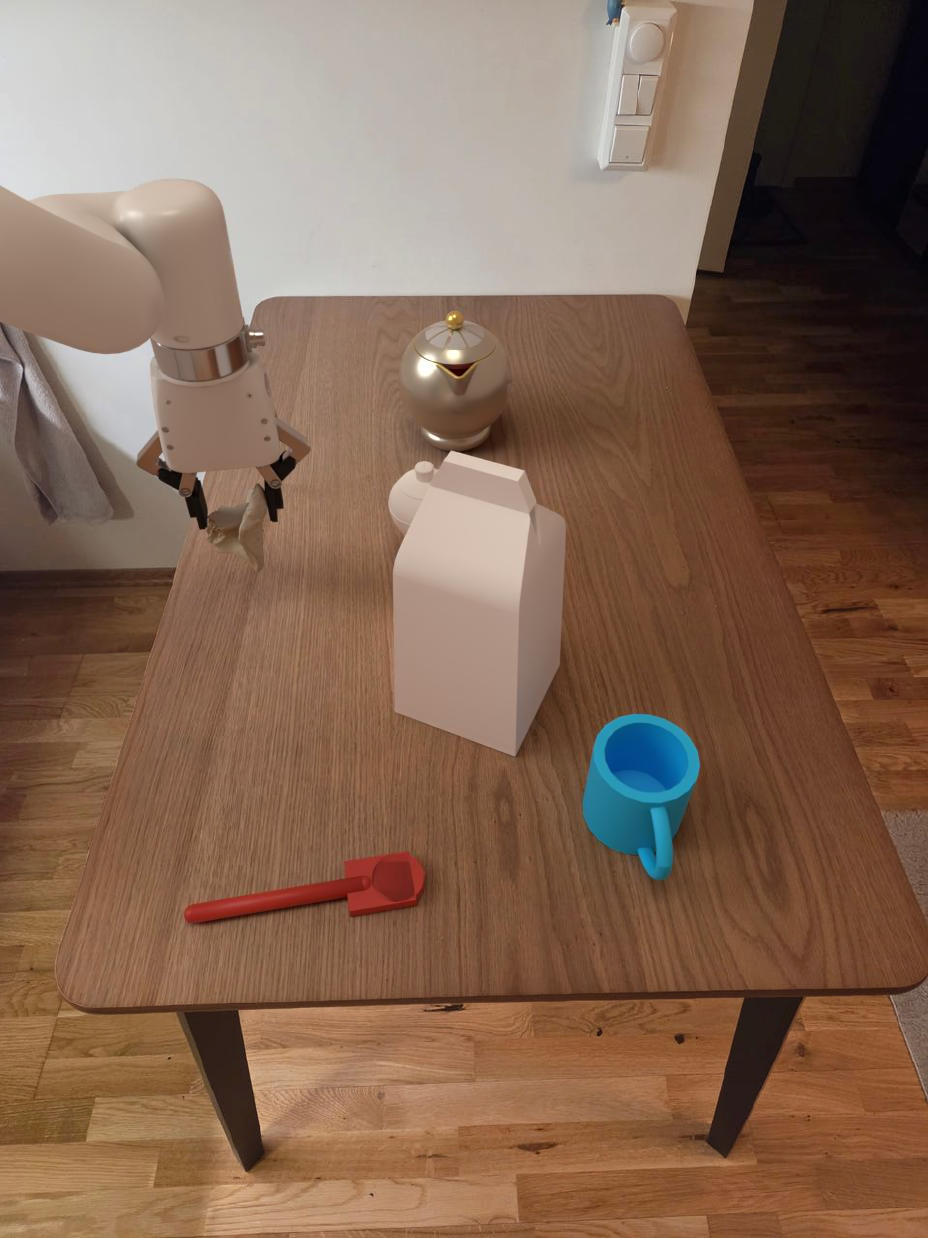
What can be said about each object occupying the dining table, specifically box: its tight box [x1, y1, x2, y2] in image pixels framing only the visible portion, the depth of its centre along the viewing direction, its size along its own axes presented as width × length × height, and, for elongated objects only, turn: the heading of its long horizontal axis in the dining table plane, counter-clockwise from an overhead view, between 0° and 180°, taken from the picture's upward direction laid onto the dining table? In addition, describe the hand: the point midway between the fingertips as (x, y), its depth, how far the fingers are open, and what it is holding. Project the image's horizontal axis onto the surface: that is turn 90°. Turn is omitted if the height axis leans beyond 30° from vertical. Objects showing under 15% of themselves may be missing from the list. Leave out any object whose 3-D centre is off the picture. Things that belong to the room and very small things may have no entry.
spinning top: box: [387, 460, 439, 537], centre depth 89 cm, size 8×8×12 cm
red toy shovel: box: [183, 850, 426, 924], centre depth 67 cm, size 18×4×1 cm, turn 100°
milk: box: [392, 451, 567, 758], centre depth 72 cm, size 12×12×26 cm
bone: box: [204, 483, 268, 573], centre depth 84 cm, size 9×6×10 cm
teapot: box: [397, 310, 513, 452], centre depth 104 cm, size 18×14×16 cm
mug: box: [582, 713, 701, 881], centre depth 68 cm, size 12×8×8 cm
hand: (238, 515), depth 83 cm, fingers closed on bone, 6 cm apart
